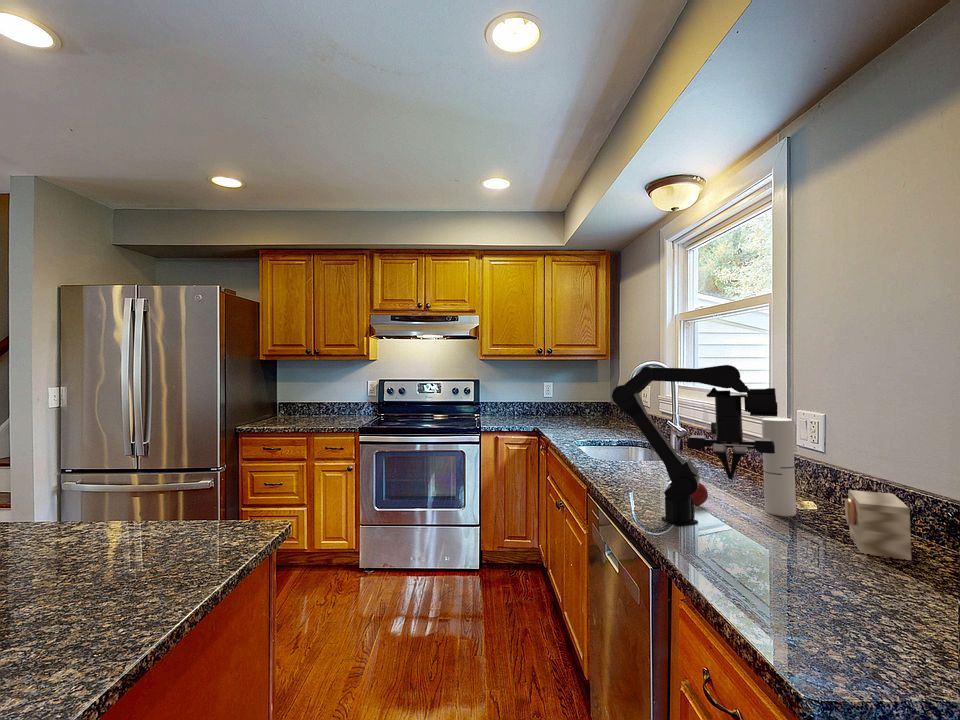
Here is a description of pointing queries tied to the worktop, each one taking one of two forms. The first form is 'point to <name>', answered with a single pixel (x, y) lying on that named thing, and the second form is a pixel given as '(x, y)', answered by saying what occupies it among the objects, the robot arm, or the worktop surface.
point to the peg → (850, 511)
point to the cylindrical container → (779, 467)
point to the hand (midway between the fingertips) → (730, 479)
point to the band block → (881, 525)
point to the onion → (699, 495)
